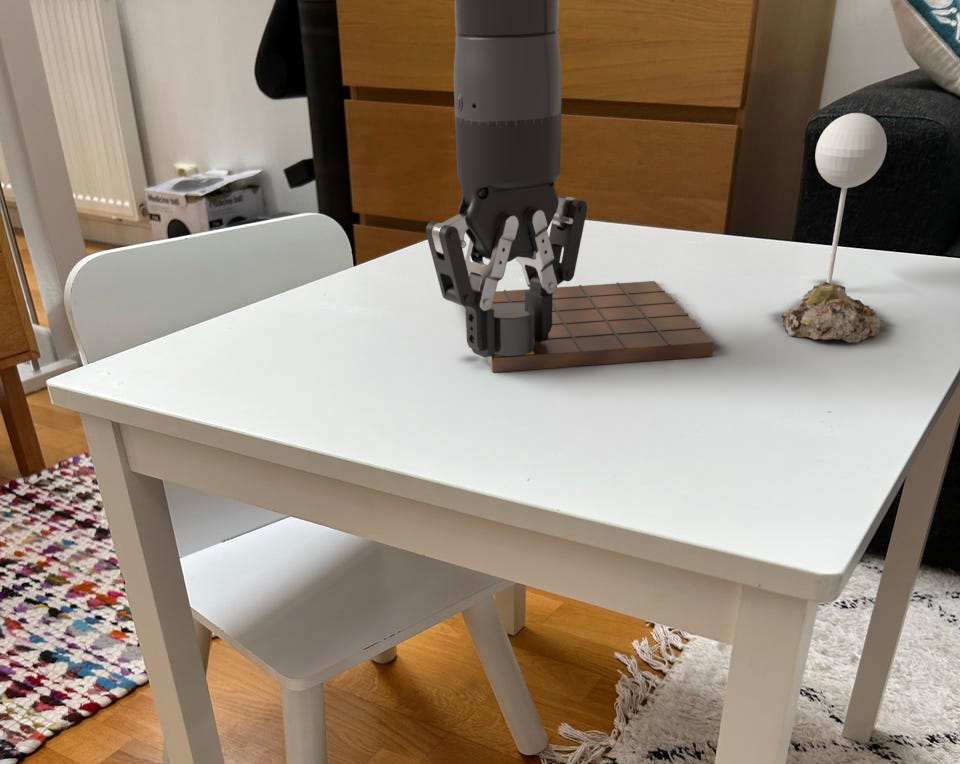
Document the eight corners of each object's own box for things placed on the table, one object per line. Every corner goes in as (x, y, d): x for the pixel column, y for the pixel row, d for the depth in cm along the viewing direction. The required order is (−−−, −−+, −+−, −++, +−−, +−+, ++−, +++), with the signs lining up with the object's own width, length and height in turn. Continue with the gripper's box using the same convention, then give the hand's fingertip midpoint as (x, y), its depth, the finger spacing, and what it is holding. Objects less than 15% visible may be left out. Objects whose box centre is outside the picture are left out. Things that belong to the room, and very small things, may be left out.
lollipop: (858, 302, 91) (893, 119, 82) (792, 298, 92) (819, 118, 84) (860, 284, 95) (893, 108, 87) (797, 280, 97) (823, 107, 88)
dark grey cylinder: (530, 338, 81) (530, 301, 80) (539, 354, 78) (539, 316, 76) (482, 341, 81) (481, 304, 79) (488, 358, 78) (487, 319, 76)
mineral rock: (897, 321, 79) (800, 289, 79) (871, 372, 81) (777, 341, 82) (884, 287, 88) (797, 259, 88) (861, 334, 90) (776, 306, 90)
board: (653, 293, 95) (654, 279, 94) (712, 356, 80) (714, 340, 80) (467, 306, 93) (466, 292, 93) (492, 372, 79) (491, 356, 78)
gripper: (456, 125, 64) (466, 381, 74) (619, 102, 71) (608, 338, 81) (393, 114, 69) (410, 355, 79) (551, 93, 76) (548, 317, 86)
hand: (510, 345), depth 80 cm, fingers open, 5 cm apart
